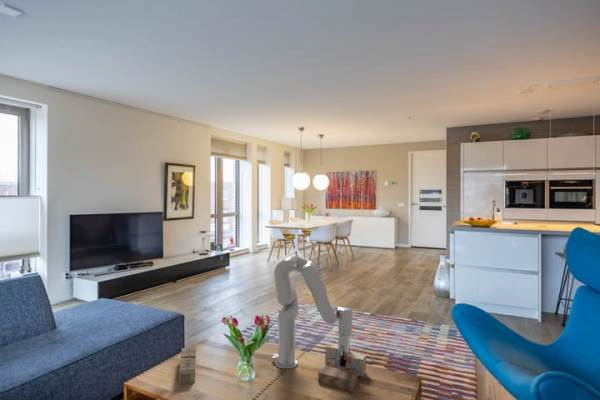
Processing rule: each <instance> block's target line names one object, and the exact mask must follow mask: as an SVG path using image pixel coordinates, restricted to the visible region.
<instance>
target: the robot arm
mask: <svg viewBox="0 0 600 400" xmlns="http://www.w3.org/2000/svg"><path fill="white" fill-rule="evenodd" d="M294 271H295V272H297V273H301V277H302V278H303V280H304V283H305V284H306V285H307V287H308V289H309V291H310V292H311V295H312V298H313V301H314V303H315V307H316V308H317V311H318V314H320V317H321V318H322V320H323V321H324V322H325V323H326V324H328V325H333V324H334V323H336V322H337V334H338V343H337V344H338V353H340V352H341V353H340V366H342V367H346V359H345V358H346V354H347V353H348V351H349V347H350V348H351V335H353V332H352V331H353V310H352V308H351V307H348V306H347V307H346V306H338V305H333V304H332V305H331V303H330V300H329V298H328V292H327V287H326V285H325V283H324V281H323V279H322V278H321V276H320V274H319V272H318V271H319V269H318V266H317V263H315V262H313V261H311V260H308V259H306V258H303V257H300V256H297V255H294V254H293V255H289V256H287V257H285V258H283V259H282V260H281V261H280V262H279V263H277V264H276V266H275V267H274V271H273V272H274V274H273V276H274V283H275V292H276V301H277V303H278V304H279V305H281V306H282V308H281V309H280V311H279V313H278V315H277V325H278V327H277V328H278V342H277V343H278V346H277V347H278V349H277V350H278V351H277V353H272V354H271V359H273V360H275V363H274V364H275V366H276V367H278V368H280V369H285V370H288V369H289V370H290V369H293V368H296V367H297V366H298V362H299V361H298V360H297V359H296V319H297V317H298V316H299V314H300V313H299V311H300V309H299V303H298V295H297V291H296V289H295V287H294V286H292V284H291V279H290V274H292V273H293V272H294ZM343 352H345V353H343ZM343 354H344V356H343Z"/></svg>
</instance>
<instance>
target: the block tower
mask: <svg viewBox="0 0 600 400" xmlns="http://www.w3.org/2000/svg"><path fill="white" fill-rule="evenodd" d="M196 352H197V346H196V345H194V346H192V345H191V346H187V347H184V348H181V354H180V361H179V368H178V371H179V373H178V375H179V376H178V377H179V378H178V379H179V380H178V381H179V382H178V383H179V385H182V384H183V385H184V384H192V383H196V359H197V353H196Z"/></svg>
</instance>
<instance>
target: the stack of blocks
mask: <svg viewBox="0 0 600 400" xmlns="http://www.w3.org/2000/svg"><path fill="white" fill-rule="evenodd" d="M340 353H341V352H340ZM340 353H338V343H333V342H329V343H327V345H325V353H324V354H325V356H324V357H325V358H324V359H325V365H324V366H329V367H334V368H338V369H342V370H346V371H350V372H354V373H358V377H361V378H363V377H364V375H365V374H366V369H367V368H366V367H367V362H366V361H367V355H365V354H362V353H361V354H360V353H357V352H351V346H350V347H349V351H348V353H347V354H346V358H345V359H346V367H342V366H340ZM343 353H345V352H343ZM343 356H344V354H343Z"/></svg>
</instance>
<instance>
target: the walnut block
mask: <svg viewBox="0 0 600 400" xmlns="http://www.w3.org/2000/svg"><path fill="white" fill-rule="evenodd" d="M317 373H318V375H317V382H318V383H322V384H326V385H329V386H333V387H336V388H337V387H338V388H340V389H345V390H347V391H353V390H354V389H355V387H356V385H357V384H358V382H359V376H358V373H354V372H350V371H346V370H342V369H338V368H334V367H329V366H325V365H324V366H323V367H322V368H321V369H320V370H319V371H318V372H317Z"/></svg>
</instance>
